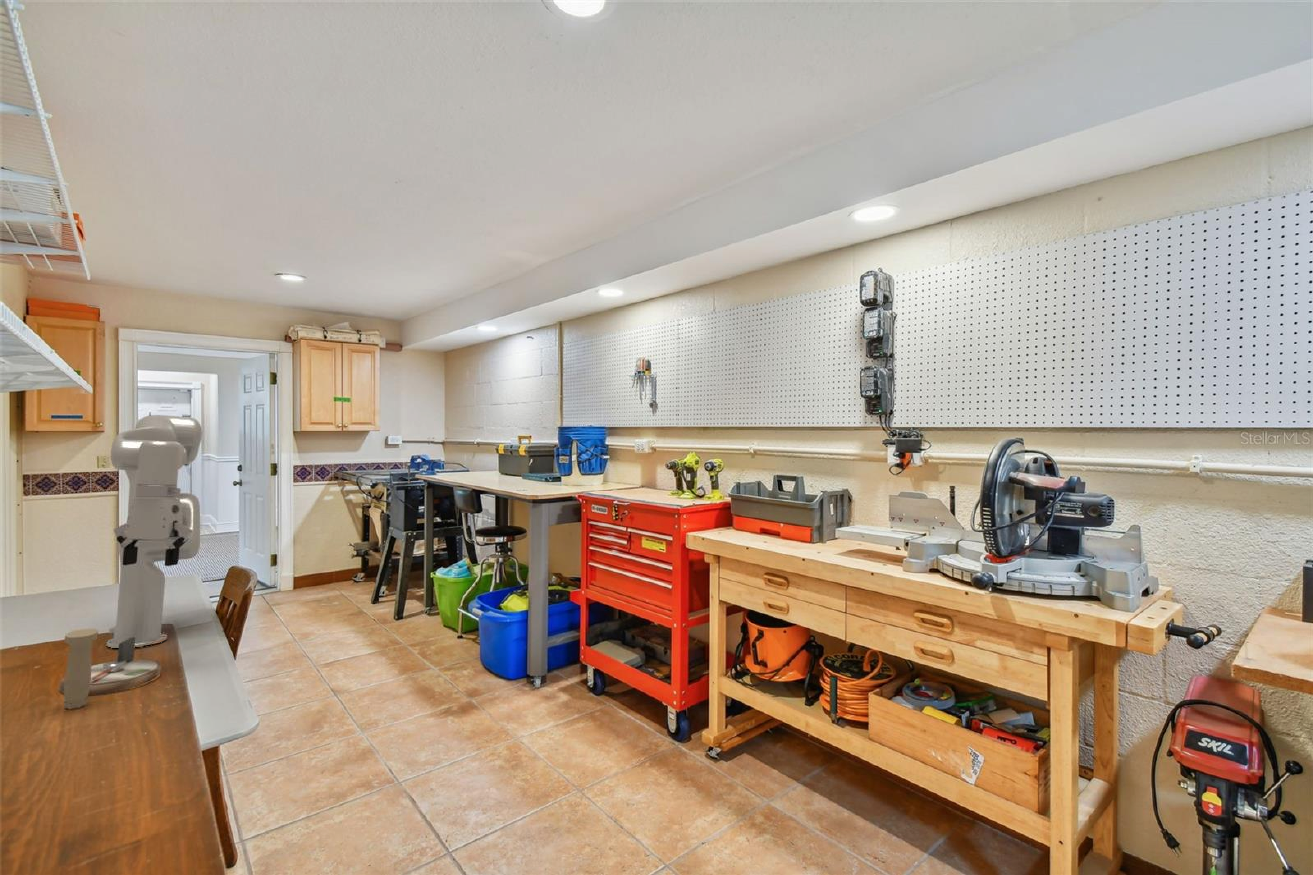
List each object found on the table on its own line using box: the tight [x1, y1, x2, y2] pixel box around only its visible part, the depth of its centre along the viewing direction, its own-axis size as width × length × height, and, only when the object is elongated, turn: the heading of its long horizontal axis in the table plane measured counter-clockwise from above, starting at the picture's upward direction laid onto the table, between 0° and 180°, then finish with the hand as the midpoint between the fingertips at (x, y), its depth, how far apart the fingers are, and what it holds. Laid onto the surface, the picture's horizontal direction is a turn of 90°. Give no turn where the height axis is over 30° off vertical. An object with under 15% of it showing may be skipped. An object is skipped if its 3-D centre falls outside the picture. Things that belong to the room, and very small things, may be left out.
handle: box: [63, 628, 99, 710], centre depth 121 cm, size 5×6×15 cm
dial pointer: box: [91, 637, 136, 680], centre depth 135 cm, size 14×4×5 cm, turn 16°
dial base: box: [59, 658, 163, 697], centre depth 135 cm, size 17×17×3 cm
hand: (150, 564), depth 139 cm, fingers open, 9 cm apart
